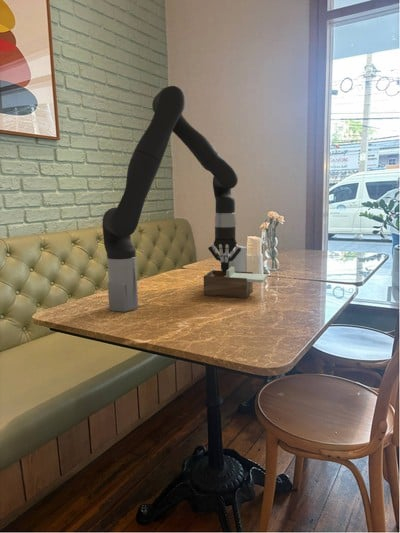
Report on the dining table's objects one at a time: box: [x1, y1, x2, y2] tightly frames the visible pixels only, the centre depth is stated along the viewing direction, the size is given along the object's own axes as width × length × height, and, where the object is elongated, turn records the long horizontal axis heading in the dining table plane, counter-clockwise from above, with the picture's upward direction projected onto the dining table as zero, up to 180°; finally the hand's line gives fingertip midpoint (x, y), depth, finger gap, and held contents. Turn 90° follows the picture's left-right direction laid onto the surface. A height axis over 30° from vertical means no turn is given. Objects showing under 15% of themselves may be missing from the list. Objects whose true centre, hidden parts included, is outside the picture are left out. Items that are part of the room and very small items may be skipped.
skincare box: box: [229, 245, 248, 272], centre depth 165 cm, size 8×6×15 cm
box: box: [203, 269, 254, 299], centre depth 147 cm, size 11×16×7 cm
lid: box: [224, 267, 268, 284], centre depth 144 cm, size 10×15×4 cm, turn 71°
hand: (225, 271), depth 147 cm, fingers closed
